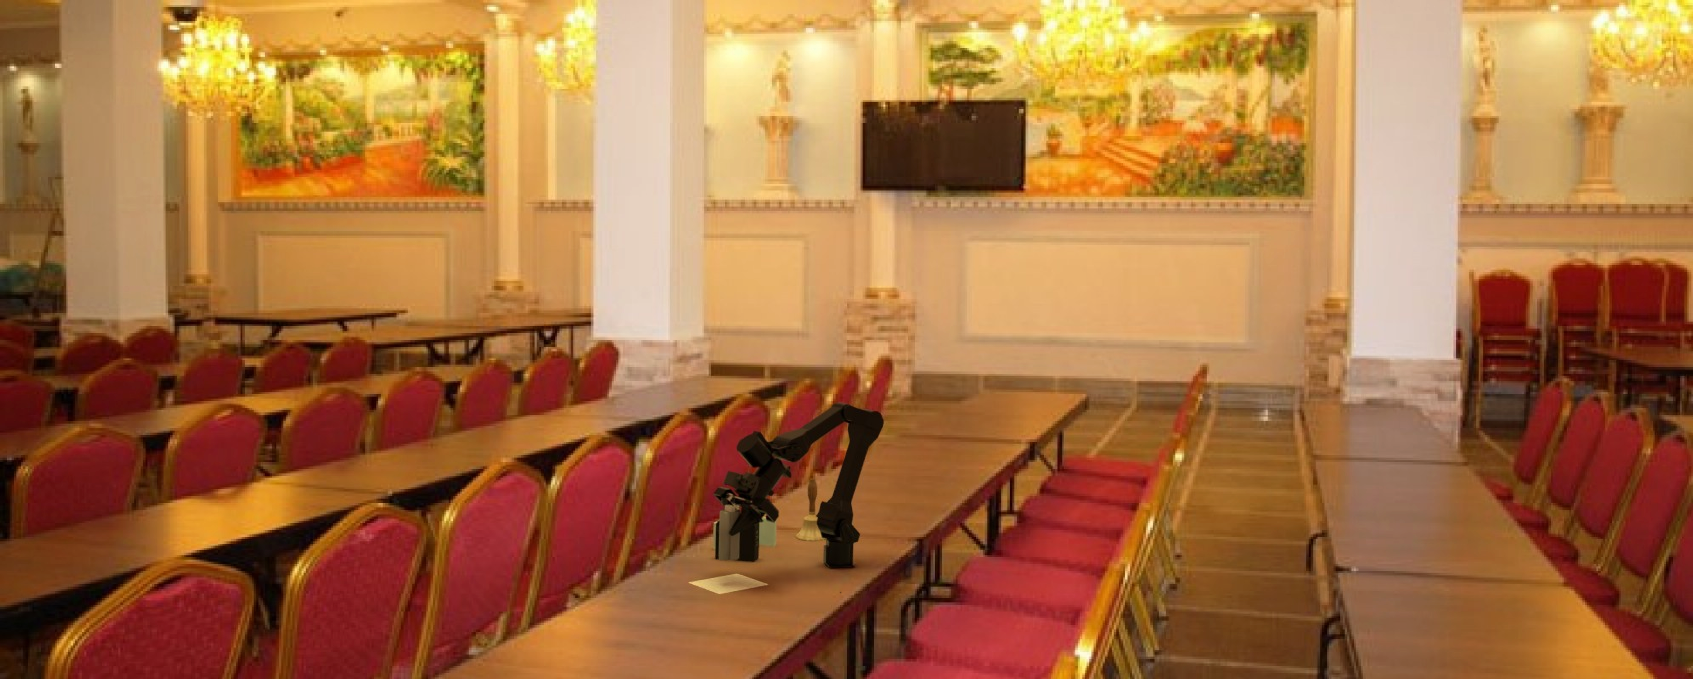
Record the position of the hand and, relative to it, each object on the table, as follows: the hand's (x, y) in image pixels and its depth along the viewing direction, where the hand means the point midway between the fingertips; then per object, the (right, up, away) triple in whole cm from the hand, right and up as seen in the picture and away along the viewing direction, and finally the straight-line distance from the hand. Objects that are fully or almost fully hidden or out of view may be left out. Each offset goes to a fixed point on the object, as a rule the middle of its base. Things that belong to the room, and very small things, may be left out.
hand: (724, 533), depth 306 cm
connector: (+1, -6, +1) cm, 6 cm away
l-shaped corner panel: (+2, -10, +39) cm, 41 cm away
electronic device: (+1, -11, +26) cm, 28 cm away
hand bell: (+18, -9, +53) cm, 57 cm away
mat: (+1, -12, +2) cm, 13 cm away
